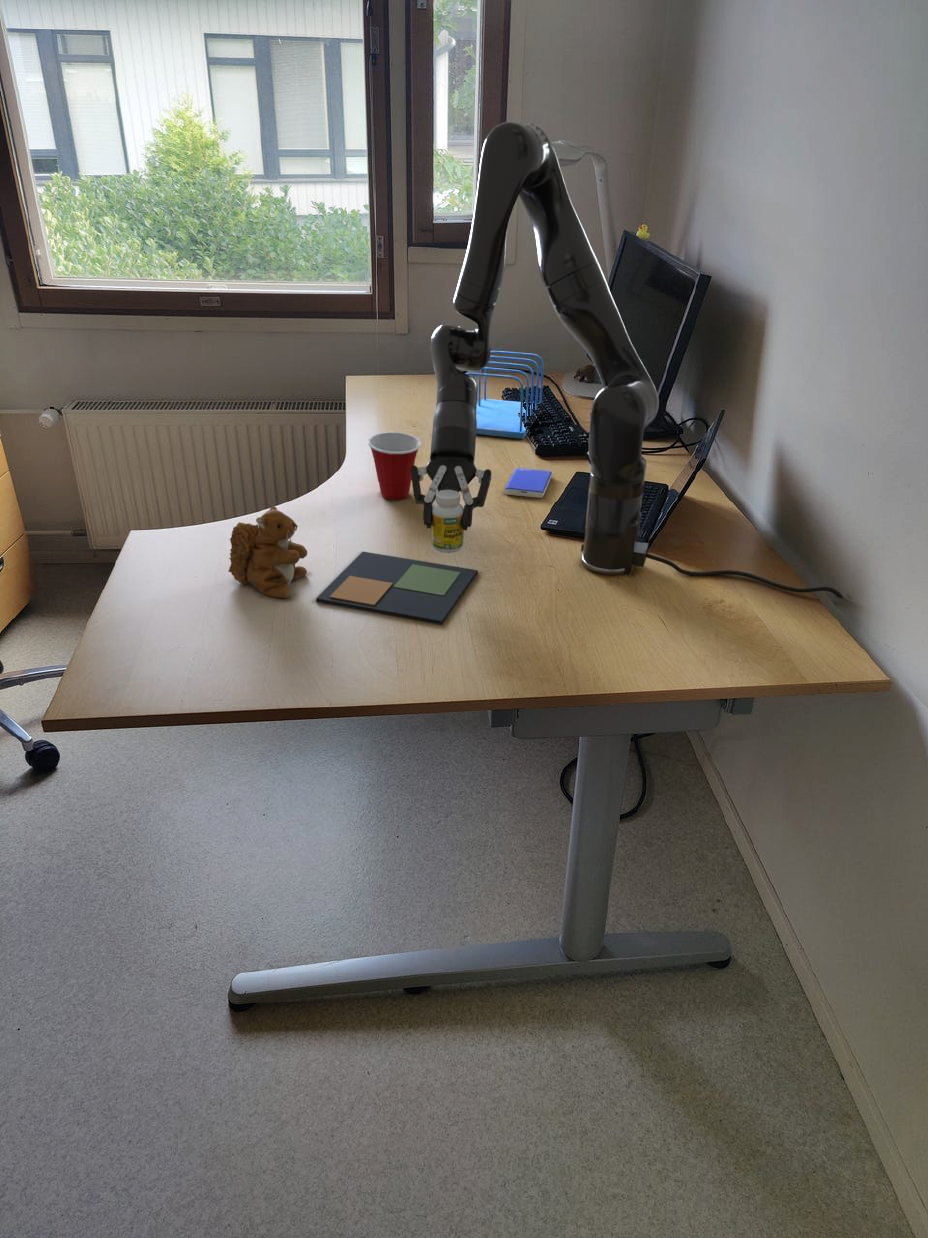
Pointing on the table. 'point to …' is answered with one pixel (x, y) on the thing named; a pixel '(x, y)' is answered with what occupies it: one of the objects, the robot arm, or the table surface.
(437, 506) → the supplement bottle
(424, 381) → the table surface
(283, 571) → the stuffed squirrel
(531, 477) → the hard drive
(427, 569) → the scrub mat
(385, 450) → the plastic cup
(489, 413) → the file sorter
